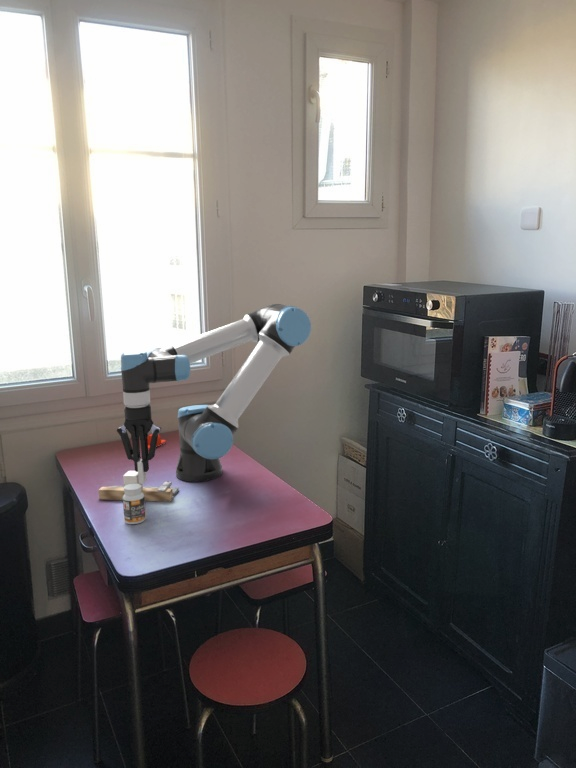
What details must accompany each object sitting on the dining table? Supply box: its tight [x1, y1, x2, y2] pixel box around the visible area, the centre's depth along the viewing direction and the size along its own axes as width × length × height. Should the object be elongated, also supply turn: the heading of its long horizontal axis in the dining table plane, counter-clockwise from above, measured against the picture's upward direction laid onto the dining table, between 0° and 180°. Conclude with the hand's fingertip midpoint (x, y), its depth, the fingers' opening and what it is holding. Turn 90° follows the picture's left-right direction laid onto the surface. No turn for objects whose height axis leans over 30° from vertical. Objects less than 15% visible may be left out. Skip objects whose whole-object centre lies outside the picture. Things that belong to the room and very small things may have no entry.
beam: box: [98, 486, 174, 502], centre depth 187 cm, size 22×2×3 cm, turn 83°
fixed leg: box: [157, 480, 172, 492], centre depth 187 cm, size 2×7×2 cm, turn 173°
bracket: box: [147, 433, 167, 449], centre depth 237 cm, size 12×4×5 cm, turn 150°
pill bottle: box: [122, 484, 147, 525], centre depth 171 cm, size 6×6×10 cm
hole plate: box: [109, 485, 180, 497], centre depth 192 cm, size 22×4×1 cm, turn 83°
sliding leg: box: [122, 470, 144, 488], centre depth 188 cm, size 4×8×8 cm, turn 173°
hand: (142, 481), depth 185 cm, fingers closed
